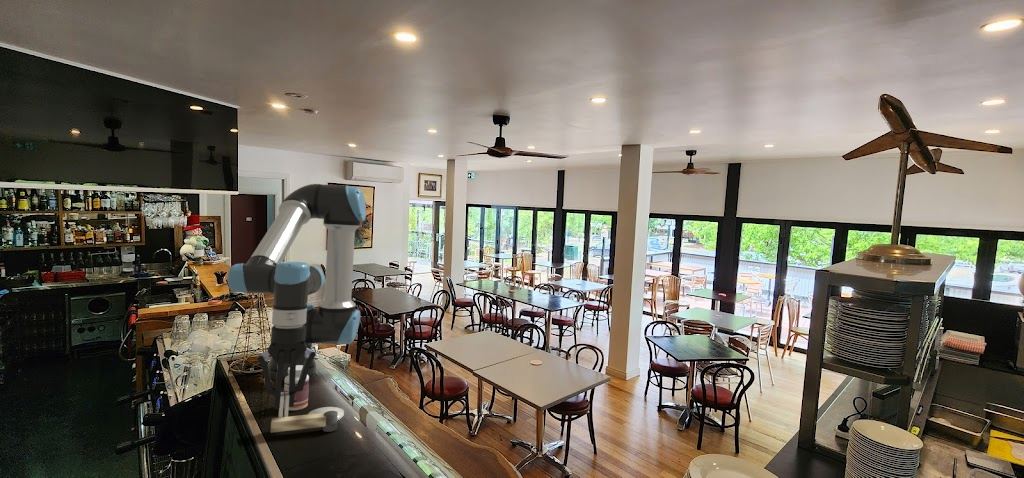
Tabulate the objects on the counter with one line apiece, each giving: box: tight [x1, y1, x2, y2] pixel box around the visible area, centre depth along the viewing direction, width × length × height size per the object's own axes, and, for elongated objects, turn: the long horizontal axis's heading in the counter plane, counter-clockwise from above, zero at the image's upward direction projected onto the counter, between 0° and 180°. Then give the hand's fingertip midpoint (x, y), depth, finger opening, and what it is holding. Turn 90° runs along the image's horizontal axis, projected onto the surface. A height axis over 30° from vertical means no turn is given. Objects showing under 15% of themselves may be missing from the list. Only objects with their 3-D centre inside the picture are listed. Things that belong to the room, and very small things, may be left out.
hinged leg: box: [270, 411, 338, 434], centre depth 105 cm, size 15×3×4 cm, turn 114°
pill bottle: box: [283, 365, 310, 412], centre depth 120 cm, size 6×6×11 cm
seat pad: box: [307, 406, 345, 422], centre depth 115 cm, size 9×9×1 cm
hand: (283, 420), depth 106 cm, fingers closed
